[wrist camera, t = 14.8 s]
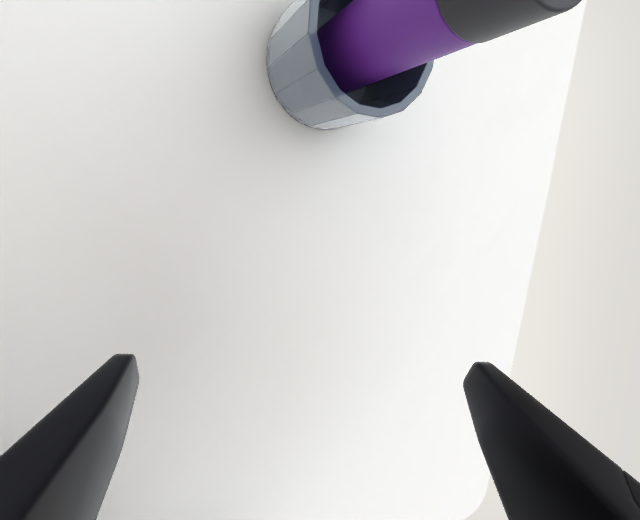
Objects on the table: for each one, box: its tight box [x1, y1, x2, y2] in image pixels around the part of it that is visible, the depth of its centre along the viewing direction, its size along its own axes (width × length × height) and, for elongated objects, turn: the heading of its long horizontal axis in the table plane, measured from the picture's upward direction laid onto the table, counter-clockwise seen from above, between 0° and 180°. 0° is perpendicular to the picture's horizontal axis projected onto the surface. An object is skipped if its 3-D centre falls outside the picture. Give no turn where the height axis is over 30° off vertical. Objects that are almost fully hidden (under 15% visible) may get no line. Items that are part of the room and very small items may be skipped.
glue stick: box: [317, 0, 581, 94], centre depth 13 cm, size 3×3×12 cm
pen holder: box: [267, 0, 434, 129], centre depth 17 cm, size 6×6×6 cm
